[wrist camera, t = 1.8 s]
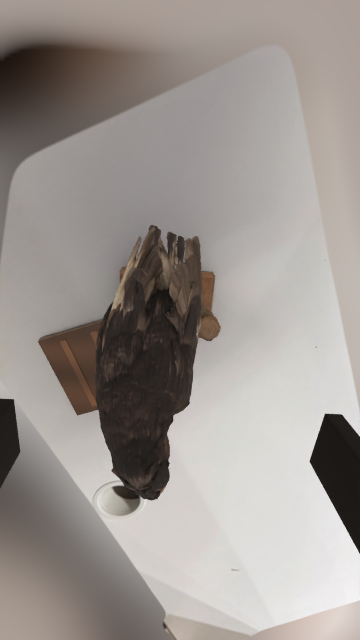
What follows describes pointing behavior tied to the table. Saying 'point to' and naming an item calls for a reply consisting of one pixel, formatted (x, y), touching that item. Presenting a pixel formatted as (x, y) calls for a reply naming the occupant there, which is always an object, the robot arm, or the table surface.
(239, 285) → the table surface
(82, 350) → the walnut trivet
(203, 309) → the bird figurine
